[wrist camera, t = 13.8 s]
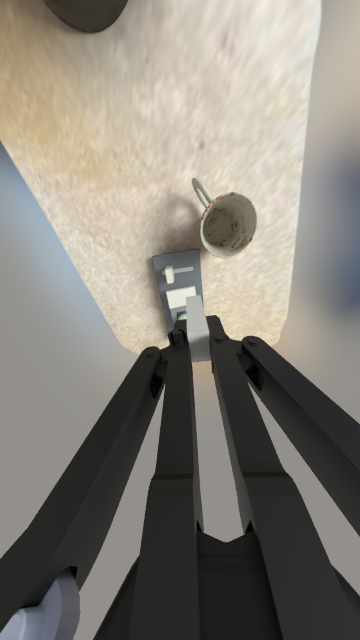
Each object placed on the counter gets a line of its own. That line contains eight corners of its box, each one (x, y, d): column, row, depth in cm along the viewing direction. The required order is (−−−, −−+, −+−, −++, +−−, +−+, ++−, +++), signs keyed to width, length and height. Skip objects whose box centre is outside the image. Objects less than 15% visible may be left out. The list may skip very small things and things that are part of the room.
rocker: (165, 291, 34) (166, 292, 33) (194, 285, 34) (195, 286, 34) (169, 307, 36) (169, 308, 35) (195, 301, 36) (196, 303, 36)
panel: (153, 256, 34) (150, 258, 31) (198, 248, 33) (199, 250, 30) (170, 335, 45) (169, 343, 42) (204, 331, 44) (206, 339, 41)
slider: (166, 265, 33) (164, 269, 30) (172, 265, 33) (170, 268, 30) (169, 278, 34) (167, 283, 31) (174, 278, 34) (173, 283, 31)
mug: (211, 259, 34) (220, 269, 26) (173, 207, 30) (168, 198, 21) (244, 230, 31) (267, 230, 23) (207, 168, 27) (219, 139, 18)
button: (177, 313, 37) (176, 319, 35) (189, 311, 37) (190, 317, 34) (179, 323, 39) (178, 330, 36) (191, 322, 38) (191, 328, 36)
